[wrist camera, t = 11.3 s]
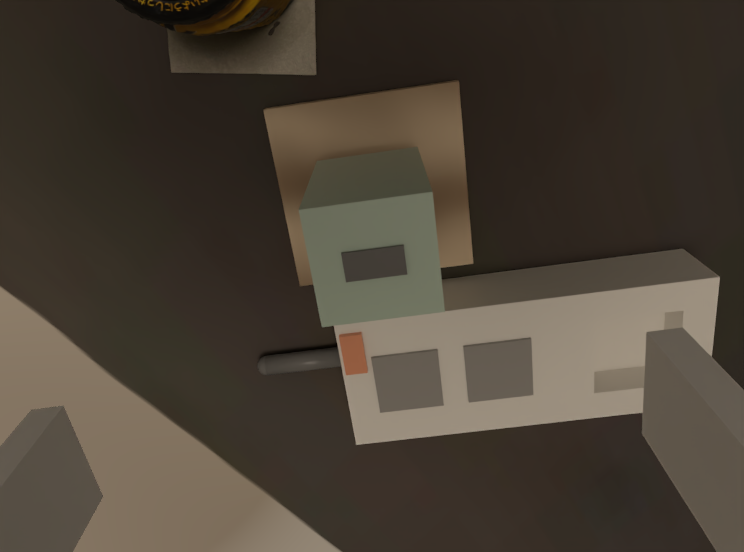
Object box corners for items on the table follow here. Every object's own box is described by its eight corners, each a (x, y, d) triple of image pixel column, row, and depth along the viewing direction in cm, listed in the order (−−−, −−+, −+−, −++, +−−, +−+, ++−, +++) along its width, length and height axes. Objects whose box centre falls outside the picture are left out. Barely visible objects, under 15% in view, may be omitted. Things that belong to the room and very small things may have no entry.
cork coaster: (265, 108, 31) (263, 109, 30) (457, 79, 30) (458, 81, 30) (301, 281, 35) (300, 286, 34) (471, 259, 34) (473, 263, 34)
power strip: (272, 413, 39) (261, 458, 35) (245, 304, 36) (229, 340, 32) (674, 366, 37) (709, 408, 33) (682, 248, 34) (723, 279, 30)
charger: (319, 152, 31) (297, 211, 22) (414, 138, 31) (432, 193, 22) (335, 240, 33) (321, 329, 24) (424, 228, 33) (445, 313, 24)
